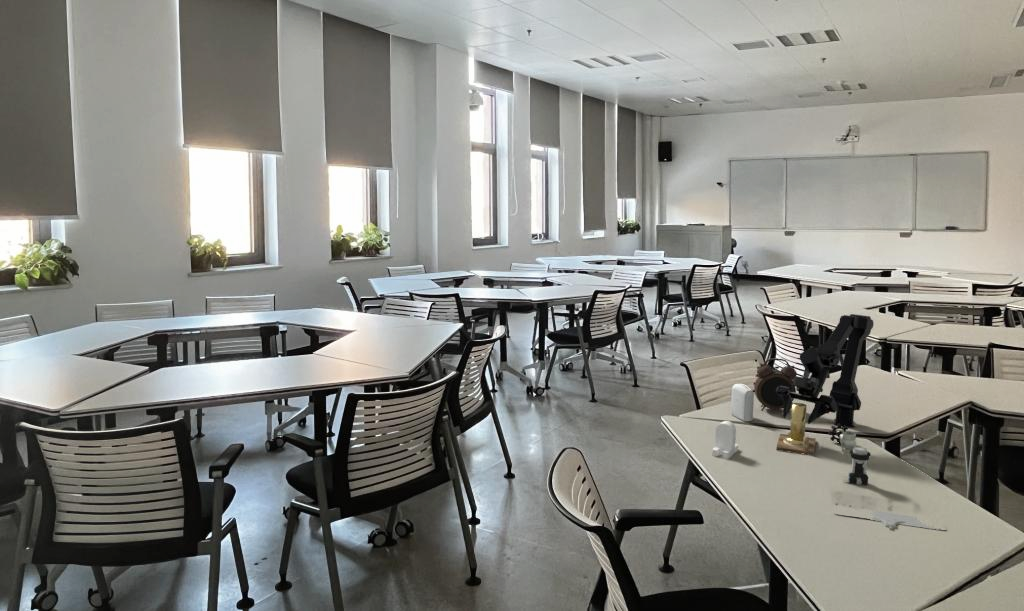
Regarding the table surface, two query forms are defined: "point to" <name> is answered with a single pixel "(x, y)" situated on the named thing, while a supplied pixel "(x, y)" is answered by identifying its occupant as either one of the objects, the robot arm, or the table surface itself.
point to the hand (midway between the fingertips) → (795, 420)
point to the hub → (797, 424)
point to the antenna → (896, 519)
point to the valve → (844, 438)
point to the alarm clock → (773, 384)
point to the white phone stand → (725, 440)
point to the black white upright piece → (858, 466)
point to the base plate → (806, 448)
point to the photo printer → (742, 402)
